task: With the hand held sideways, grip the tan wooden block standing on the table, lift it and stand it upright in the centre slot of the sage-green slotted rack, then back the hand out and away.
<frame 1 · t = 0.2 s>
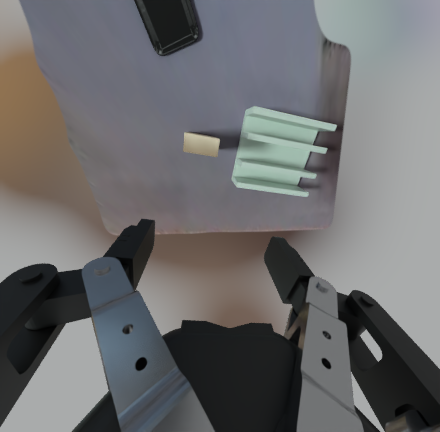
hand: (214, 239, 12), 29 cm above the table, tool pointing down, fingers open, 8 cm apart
tan wooden block: (200, 140, 35), on the table
slotted rack: (272, 153, 38), on the table
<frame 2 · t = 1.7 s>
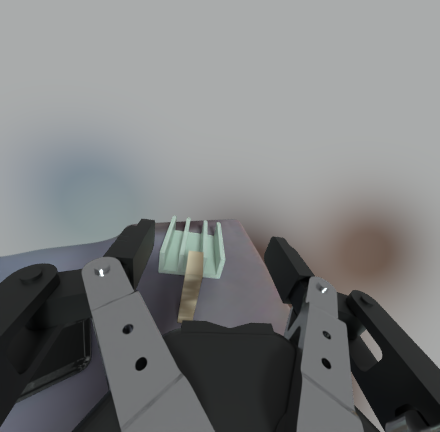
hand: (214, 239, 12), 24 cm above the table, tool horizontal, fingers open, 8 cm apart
tan wooden block: (186, 309, 32), on the table
slotted rack: (192, 252, 46), on the table
phone: (16, 370, 21), on the table
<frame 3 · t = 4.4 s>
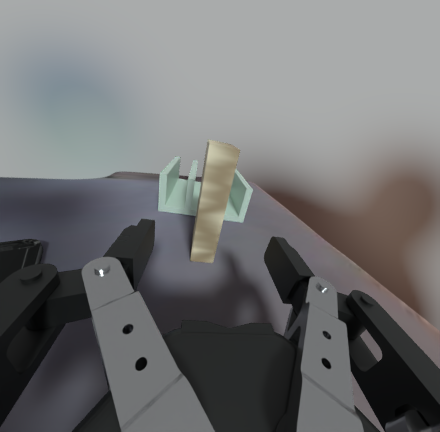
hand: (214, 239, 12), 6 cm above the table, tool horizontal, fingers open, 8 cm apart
tan wooden block: (201, 247, 21), on the table
slotted rack: (202, 198, 35), on the table
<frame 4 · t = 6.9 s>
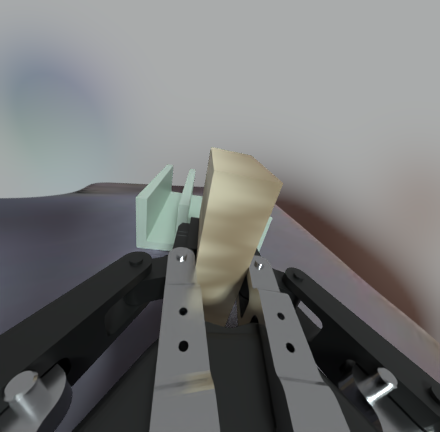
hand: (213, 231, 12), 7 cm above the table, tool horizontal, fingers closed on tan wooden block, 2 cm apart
tan wooden block: (200, 309, 14), on the table, touching gripper
slotted rack: (200, 220, 27), on the table
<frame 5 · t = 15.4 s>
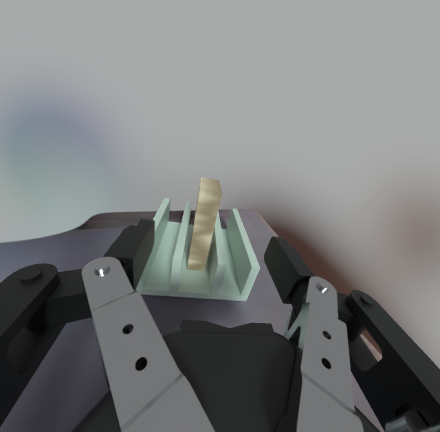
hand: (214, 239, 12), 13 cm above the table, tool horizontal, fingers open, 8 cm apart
tan wooden block: (196, 258, 26), point 1 cm above the table, touching slotted rack
slotted rack: (196, 255, 28), on the table
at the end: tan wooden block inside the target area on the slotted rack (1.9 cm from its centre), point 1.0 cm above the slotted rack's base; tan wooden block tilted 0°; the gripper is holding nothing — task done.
